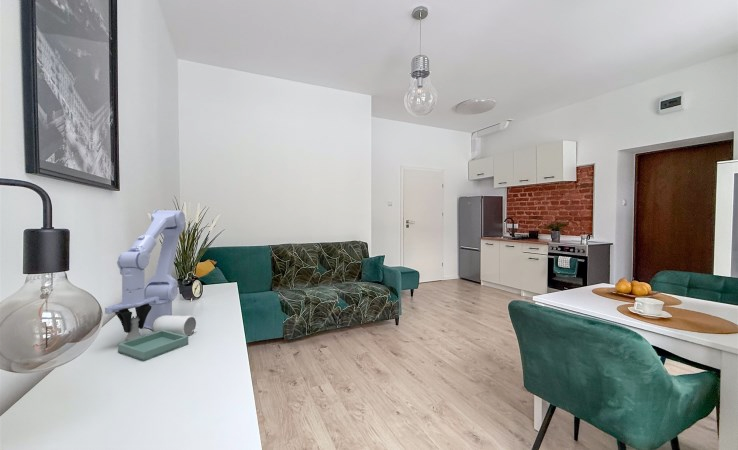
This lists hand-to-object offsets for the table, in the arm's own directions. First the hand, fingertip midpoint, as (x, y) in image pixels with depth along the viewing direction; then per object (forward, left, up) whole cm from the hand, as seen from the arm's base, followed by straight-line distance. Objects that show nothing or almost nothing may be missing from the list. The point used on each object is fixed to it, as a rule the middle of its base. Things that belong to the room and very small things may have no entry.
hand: (133, 330), depth 98 cm
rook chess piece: (0, 0, -4) cm, 4 cm away
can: (+11, +12, -1) cm, 16 cm away
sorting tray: (+11, 0, -4) cm, 12 cm away
